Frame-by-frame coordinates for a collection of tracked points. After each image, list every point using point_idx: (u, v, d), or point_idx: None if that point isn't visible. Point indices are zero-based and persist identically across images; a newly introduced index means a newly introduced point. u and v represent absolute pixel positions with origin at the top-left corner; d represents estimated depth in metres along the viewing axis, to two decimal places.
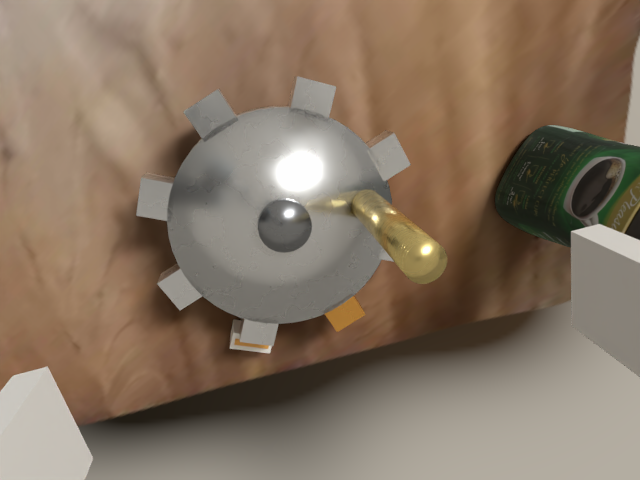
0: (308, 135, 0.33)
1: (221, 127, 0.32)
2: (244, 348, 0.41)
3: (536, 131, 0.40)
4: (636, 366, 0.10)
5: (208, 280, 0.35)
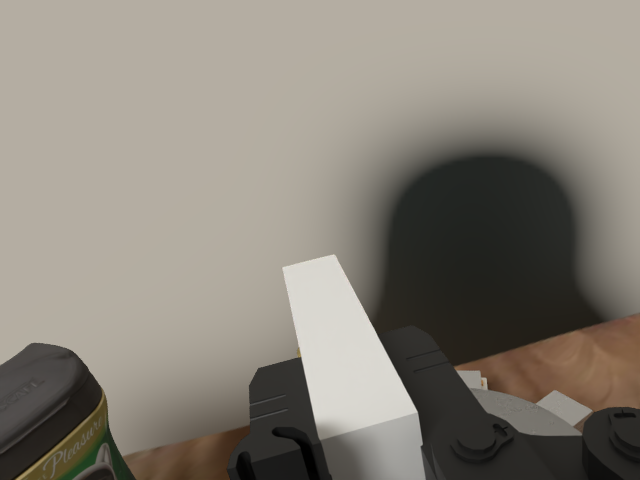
0: None
1: None
2: None
3: None
4: None
5: (535, 418, 0.31)
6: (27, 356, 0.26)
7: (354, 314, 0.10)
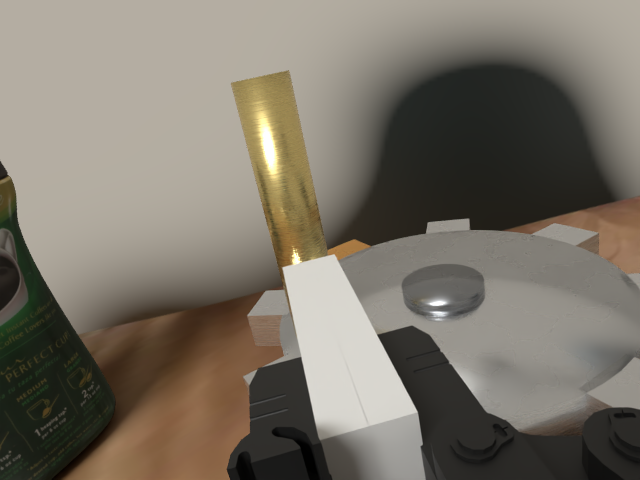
0: None
1: (607, 375, 0.16)
2: None
3: None
4: None
5: (531, 244, 0.27)
6: None
7: (354, 314, 0.10)
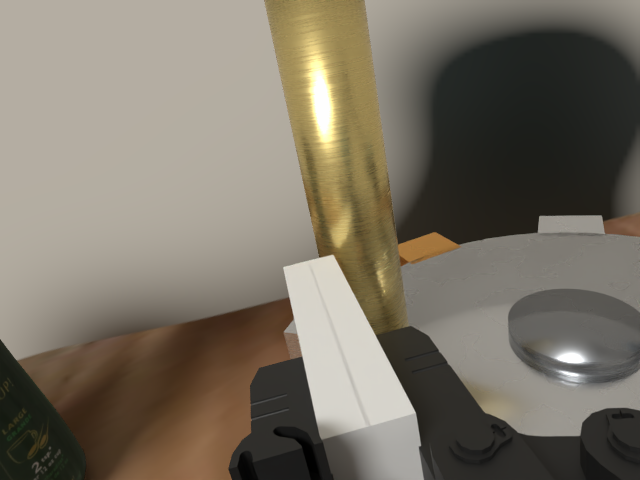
0: None
1: None
2: None
3: None
4: None
5: None
6: None
7: (353, 315, 0.10)
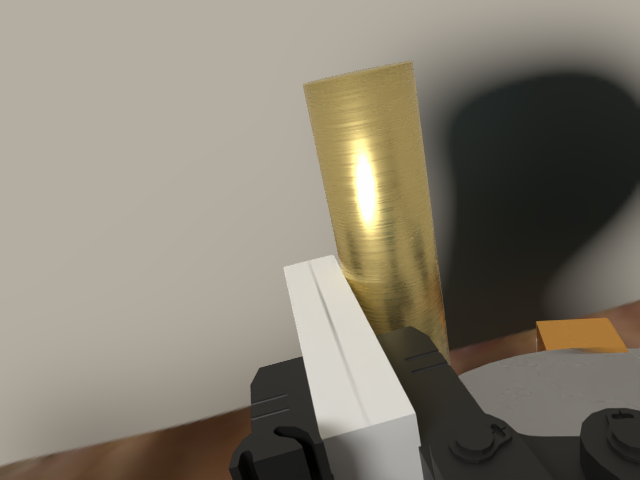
0: None
1: None
2: None
3: None
4: None
5: None
6: None
7: (352, 315, 0.10)
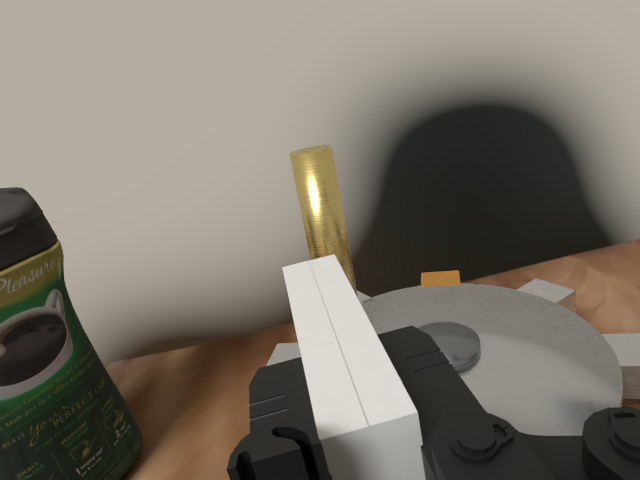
0: None
1: None
2: None
3: None
4: None
5: (583, 344, 0.25)
6: None
7: (354, 315, 0.10)
